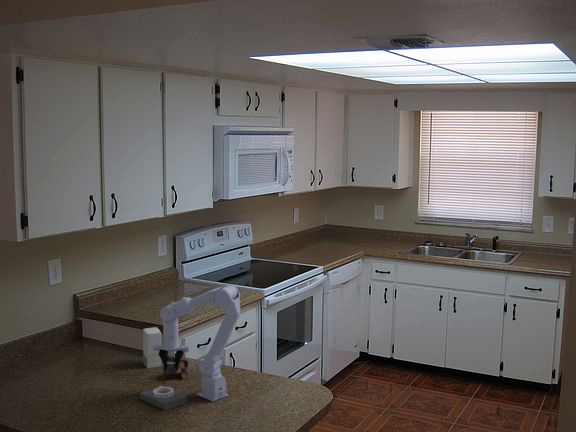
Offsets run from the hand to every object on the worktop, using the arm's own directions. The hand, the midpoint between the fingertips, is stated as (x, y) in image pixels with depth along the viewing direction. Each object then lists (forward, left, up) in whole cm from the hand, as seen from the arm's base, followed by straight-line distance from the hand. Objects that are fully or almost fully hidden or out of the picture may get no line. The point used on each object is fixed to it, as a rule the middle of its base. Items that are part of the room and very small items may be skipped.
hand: (171, 368), depth 264 cm
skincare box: (+31, -12, -9) cm, 35 cm away
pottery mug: (+12, -11, -9) cm, 19 cm away
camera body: (-6, +9, -9) cm, 14 cm away
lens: (0, 0, -2) cm, 2 cm away
